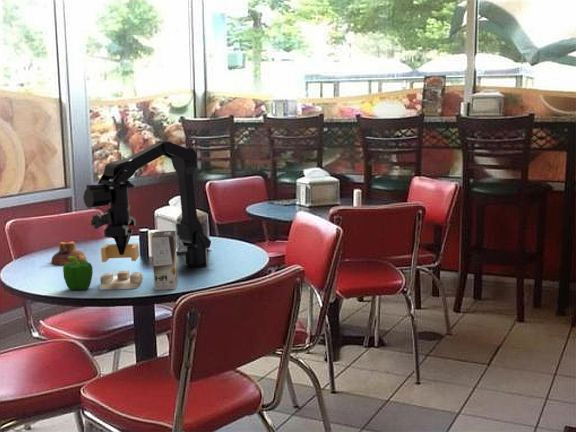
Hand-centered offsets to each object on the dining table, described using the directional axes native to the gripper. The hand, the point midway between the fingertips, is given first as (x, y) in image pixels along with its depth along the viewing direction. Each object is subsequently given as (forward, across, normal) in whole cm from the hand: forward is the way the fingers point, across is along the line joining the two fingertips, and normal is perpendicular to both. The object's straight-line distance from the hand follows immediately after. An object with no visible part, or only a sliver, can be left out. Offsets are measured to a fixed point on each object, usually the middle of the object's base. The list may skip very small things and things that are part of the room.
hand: (122, 253), depth 218 cm
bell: (+9, -30, -25) cm, 40 cm away
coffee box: (+9, +7, +14) cm, 18 cm away
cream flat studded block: (+9, +3, 0) cm, 9 cm away
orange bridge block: (+1, +2, 0) cm, 3 cm away
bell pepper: (+9, +7, -12) cm, 16 cm away
